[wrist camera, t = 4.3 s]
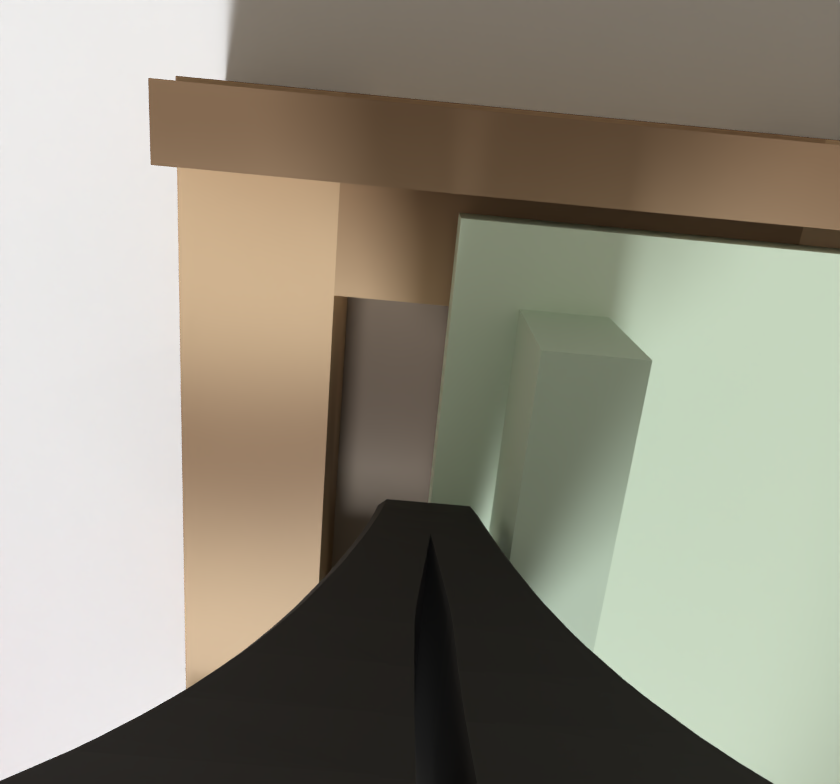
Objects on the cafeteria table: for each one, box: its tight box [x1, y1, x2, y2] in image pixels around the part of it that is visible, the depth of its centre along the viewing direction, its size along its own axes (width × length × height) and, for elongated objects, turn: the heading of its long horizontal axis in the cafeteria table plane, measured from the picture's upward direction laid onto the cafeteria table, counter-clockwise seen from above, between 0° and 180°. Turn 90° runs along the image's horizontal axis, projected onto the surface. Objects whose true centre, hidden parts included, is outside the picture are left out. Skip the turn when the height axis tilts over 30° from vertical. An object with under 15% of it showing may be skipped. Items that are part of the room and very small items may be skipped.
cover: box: [428, 213, 840, 784], centre depth 10 cm, size 9×8×3 cm
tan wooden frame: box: [148, 76, 840, 689], centre depth 12 cm, size 12×18×3 cm, turn 85°
